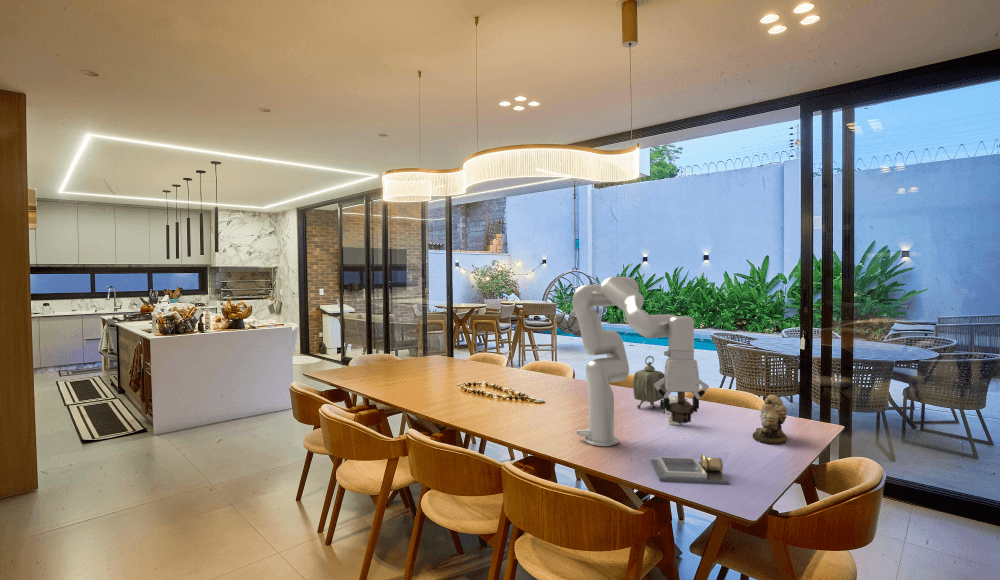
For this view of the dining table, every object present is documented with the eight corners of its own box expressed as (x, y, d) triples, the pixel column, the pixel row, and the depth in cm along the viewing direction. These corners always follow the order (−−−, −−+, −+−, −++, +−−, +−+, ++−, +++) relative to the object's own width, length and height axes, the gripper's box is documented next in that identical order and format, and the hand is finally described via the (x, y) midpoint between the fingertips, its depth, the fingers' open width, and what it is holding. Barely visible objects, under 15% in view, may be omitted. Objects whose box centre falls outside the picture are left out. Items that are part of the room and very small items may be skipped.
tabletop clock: (650, 403, 252) (650, 353, 252) (666, 407, 245) (666, 355, 245) (633, 408, 242) (633, 356, 242) (649, 412, 236) (649, 358, 235)
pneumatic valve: (688, 427, 210) (688, 398, 210) (660, 423, 216) (660, 395, 215) (690, 424, 215) (690, 396, 215) (662, 420, 220) (662, 393, 220)
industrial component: (696, 421, 161) (697, 383, 160) (690, 426, 155) (691, 387, 155) (667, 416, 166) (667, 380, 166) (660, 421, 160) (660, 383, 160)
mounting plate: (659, 481, 153) (659, 461, 153) (651, 462, 169) (650, 444, 169) (728, 484, 150) (728, 464, 150) (713, 465, 166) (713, 447, 166)
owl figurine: (754, 430, 206) (754, 388, 206) (787, 435, 200) (788, 392, 200) (751, 442, 190) (751, 397, 190) (787, 447, 184) (787, 400, 184)
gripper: (655, 356, 157) (654, 412, 157) (713, 357, 155) (713, 414, 155) (650, 353, 165) (650, 406, 165) (706, 354, 162) (706, 408, 163)
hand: (681, 410), depth 160 cm, fingers closed on industrial component, 8 cm apart
